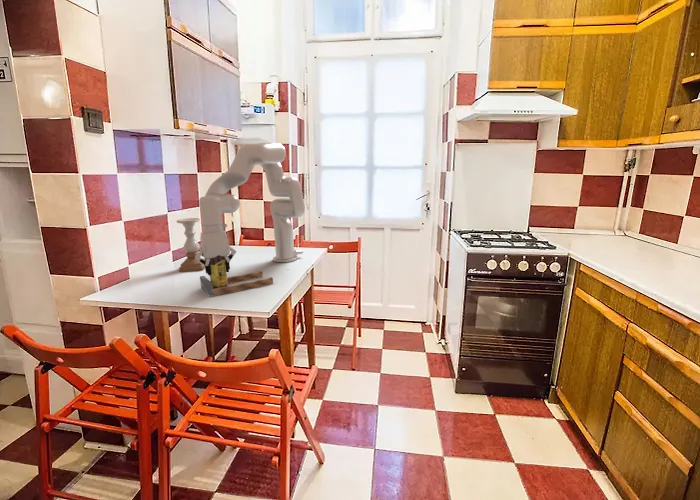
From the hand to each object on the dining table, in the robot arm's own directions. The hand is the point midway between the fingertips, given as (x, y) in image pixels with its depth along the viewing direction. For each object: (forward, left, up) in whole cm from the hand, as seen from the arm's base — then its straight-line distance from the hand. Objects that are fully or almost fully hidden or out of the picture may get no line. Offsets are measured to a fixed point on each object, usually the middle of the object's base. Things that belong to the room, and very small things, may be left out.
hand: (218, 272), depth 145 cm
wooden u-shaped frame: (-8, 0, -7) cm, 10 cm away
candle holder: (+1, -41, -7) cm, 42 cm away
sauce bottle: (0, 0, -7) cm, 7 cm away
